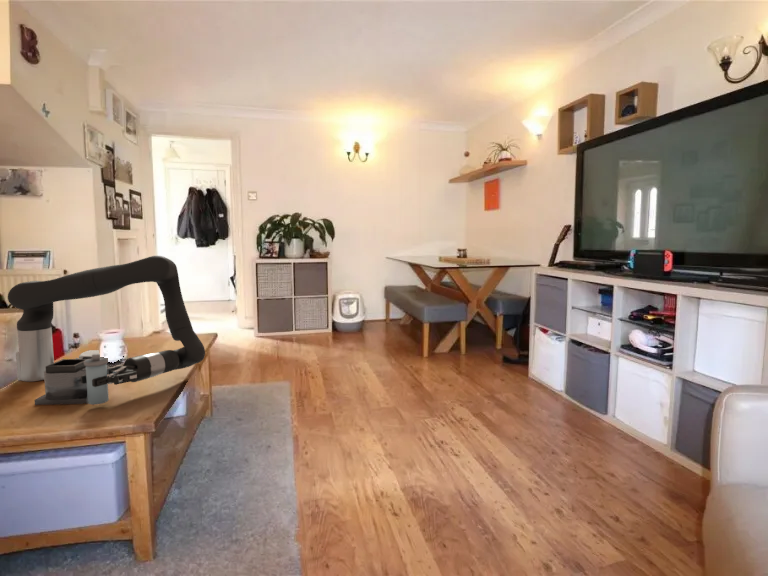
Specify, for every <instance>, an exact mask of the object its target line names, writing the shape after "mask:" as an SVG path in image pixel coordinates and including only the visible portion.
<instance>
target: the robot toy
mask: <svg viewBox="0 0 768 576" xmlns="http://www.w3.org/2000/svg"><path fill="white" fill-rule="evenodd" d="M93 354H99V349H98V350H97V349H94V350H93V349H91V350H90V349H88V350H86V351H84V352H81V353H80V354H79V355H78V357H75V359H91V358H92V355H93Z"/></svg>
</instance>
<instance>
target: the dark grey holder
mask: <svg viewBox="0 0 768 576" xmlns="http://www.w3.org/2000/svg"><path fill="white" fill-rule="evenodd" d="M85 360H87V359H76V358H67V359H66V358H63V359H60V360H58V361H54V363H53V364H50V365H48V366H46V371H44V392H45V394H42V395H41V396H40V397H37V398H35V399H34V405H35V406H38V405H39V406H45V405H79V404H80V405H85V403H86V405H87V404H88V398H87V383H81V376H82V375H86V366H84V361H85ZM83 403H84V404H83Z"/></svg>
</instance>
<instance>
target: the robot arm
mask: <svg viewBox="0 0 768 576" xmlns="http://www.w3.org/2000/svg"><path fill="white" fill-rule="evenodd" d="M151 282H152V283H156V284H157V286H158V288H159V290H160V292H161V294H162V297H163V302H164V311H165V312H164V313H165V319H166V320H165V321H166V323H167V324H166V325H167V327H168V330H169V332H170V335H171V337H172V339H173V340H174V341H176V342H177V341H178V342H181V344H182V345H183V347H180V348H177V349H174V350H172V349H165V350H162V351H158V352H151V353H145V354H141V355H137V356H132V357H129V358H126V360H125V361H124V363H123V364H122V365H121V364H118V365H114V366H112V364H107V376H103V377H99V378H95V379H93V380H92V386H93V387H97V386H101V385H104V384H108V385H116V386H117V385H121V384H125V383H129V382H131V383H137V382H139V381H144V380H147V379H152V378H154V377H156V376H160V375H162V374H166V373H168V372H172V371H176V370H182V369H186V368H190V367H192V366H194V365H197V364H199V363H201V362H202V361H204V359H205V356H206V349H205V346H204V344H203V342H202V341H201V339H200V338H199V336H198V335H197V333H196V332H195V331H194V328H193V326H192V323H191V320H190V317H189V314H188V311H187V308H186V305H185V301H184V299H183V294H182V288H181V285H180V278H179V273H178V267H177V264H175V262H174V261H173V260H172V259H170V258H168V257H165V256H163V255H151V256H148V257H144V258H140V259H137V260H135V261H131V262H127V263H123V264H115V265H109V266H102V267H96V268H92V269H86V270H81V271H78V272H74V273H70V274H67V275H64V276H61V277H58V278H53V279H48V280H31V281H25V282H20V283H18V284H16V285H14V286H13V287H11V288H10V290H9V291H8V292H7V293H8V294H7V301H8V303H9V304H10V305H11V306H12V307H14V308H15V309H19V310H23V311H22V315H21V317H20V318H19V319H18V320H17V321H16V331H17V332H16V333H17V344H18V346H17V347H18V351H17V352H15V359H16V360H15V362H16V375H17V381H22V382H39V381H43V380H44V371H46V366H48V365H50V364H53V363H55V358H54V342H53V329H52V321H53V319H54V303H56V302H60V301H61V302H62V301H72V300H79V299H81V300H82V299H88V298H93V297H98V296H104V295H108V294H112V293H114V292H116V291H119V290H121V289H123V288H125V287H127V286H130V285H135V284H141V283H151ZM81 383H87V380H86V375H82V376H81Z"/></svg>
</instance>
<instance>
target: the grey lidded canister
mask: <svg viewBox="0 0 768 576" xmlns="http://www.w3.org/2000/svg"><path fill="white" fill-rule="evenodd" d="M108 364H109V363H108V358H104V357H100V354H93V355H92V358H91V359H87V360H85V361H84V366H86V380H87V398H88V403H87V404H89V405H101V404H104V403H107V402H108V401H110V399H109V384H104V385H101V386H97V387H93V386H92V380H93V379H95V378H99V377H103V376H108V375H107V366H108Z"/></svg>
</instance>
